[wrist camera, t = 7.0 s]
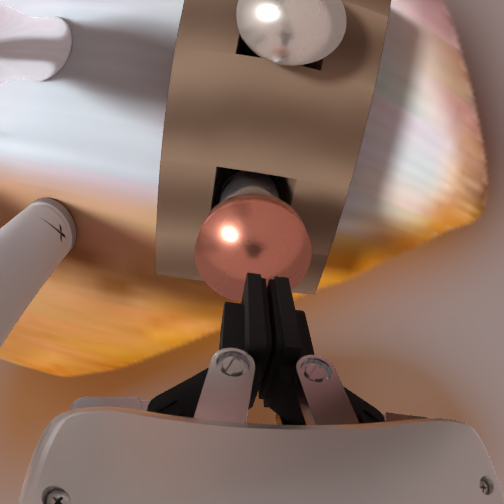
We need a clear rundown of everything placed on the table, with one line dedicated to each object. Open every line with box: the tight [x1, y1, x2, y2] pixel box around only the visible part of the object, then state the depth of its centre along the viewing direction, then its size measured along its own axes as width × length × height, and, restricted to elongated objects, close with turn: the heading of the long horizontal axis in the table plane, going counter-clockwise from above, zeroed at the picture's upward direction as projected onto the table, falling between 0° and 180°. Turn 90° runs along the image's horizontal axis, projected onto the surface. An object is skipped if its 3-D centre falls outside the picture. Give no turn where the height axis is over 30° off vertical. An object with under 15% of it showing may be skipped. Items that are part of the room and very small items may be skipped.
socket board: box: [155, 0, 391, 295], centre depth 20 cm, size 24×12×6 cm, turn 170°
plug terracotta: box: [195, 171, 312, 302], centre depth 19 cm, size 6×6×8 cm
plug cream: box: [236, 0, 346, 66], centre depth 16 cm, size 6×6×8 cm
